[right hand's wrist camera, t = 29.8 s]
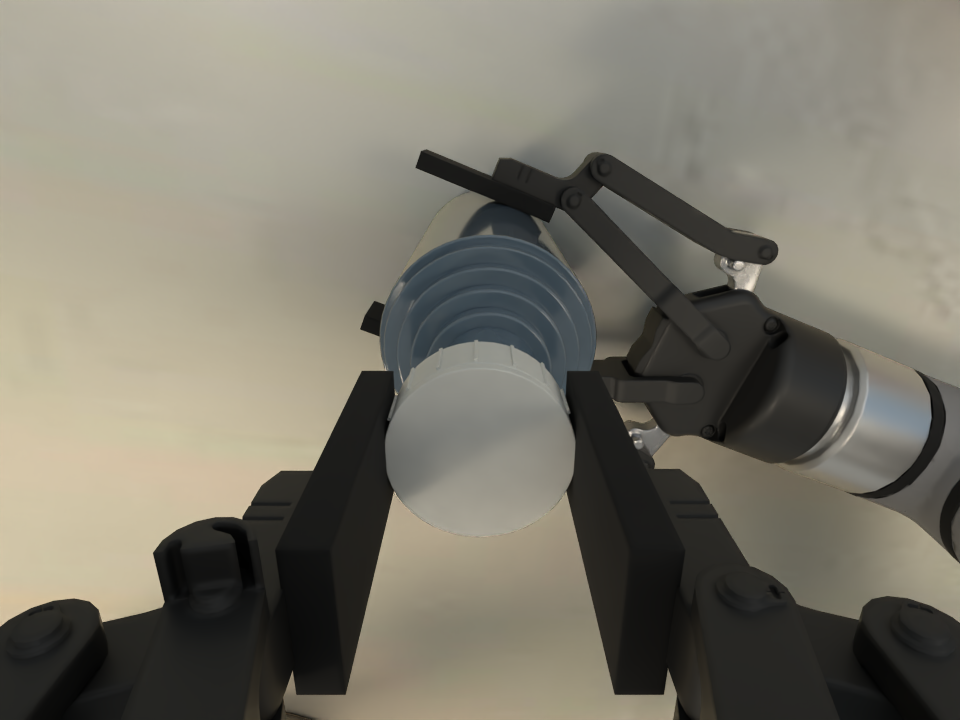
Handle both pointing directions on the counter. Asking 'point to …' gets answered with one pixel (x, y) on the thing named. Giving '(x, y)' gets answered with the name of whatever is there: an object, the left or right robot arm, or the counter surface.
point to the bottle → (487, 292)
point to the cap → (480, 440)
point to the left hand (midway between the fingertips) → (393, 240)
